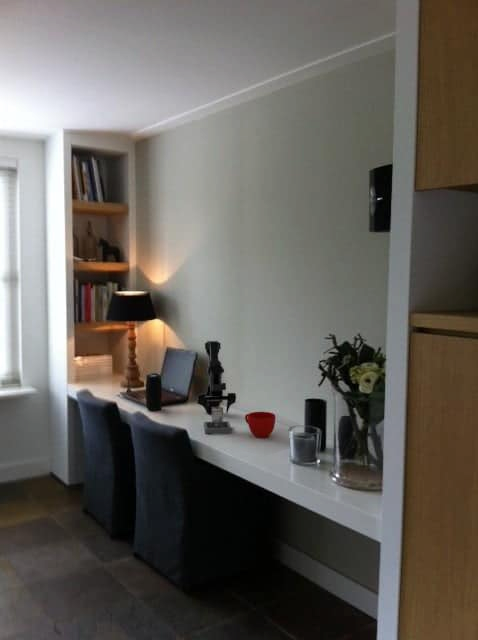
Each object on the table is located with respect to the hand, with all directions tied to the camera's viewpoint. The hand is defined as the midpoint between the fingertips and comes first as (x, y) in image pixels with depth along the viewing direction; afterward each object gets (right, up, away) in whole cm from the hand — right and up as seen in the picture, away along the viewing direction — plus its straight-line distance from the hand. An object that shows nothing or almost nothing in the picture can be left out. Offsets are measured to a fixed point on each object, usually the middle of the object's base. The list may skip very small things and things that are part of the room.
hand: (217, 413), depth 295 cm
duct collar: (0, -8, +2) cm, 9 cm away
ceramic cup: (+19, -9, -6) cm, 23 cm away
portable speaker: (-36, -5, +43) cm, 56 cm away
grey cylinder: (0, -8, +2) cm, 9 cm away
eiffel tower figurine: (-57, -2, +75) cm, 94 cm away
